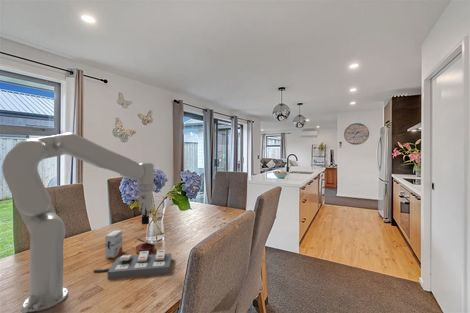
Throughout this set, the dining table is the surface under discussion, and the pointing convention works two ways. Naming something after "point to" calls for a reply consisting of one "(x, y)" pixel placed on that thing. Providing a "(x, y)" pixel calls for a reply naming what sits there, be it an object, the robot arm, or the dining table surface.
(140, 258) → the rocker
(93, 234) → the dining table surface
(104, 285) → the dining table surface
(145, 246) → the dark red apple
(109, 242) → the ink box
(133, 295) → the dining table surface
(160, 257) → the rocker
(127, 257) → the rocker
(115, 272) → the power strip
